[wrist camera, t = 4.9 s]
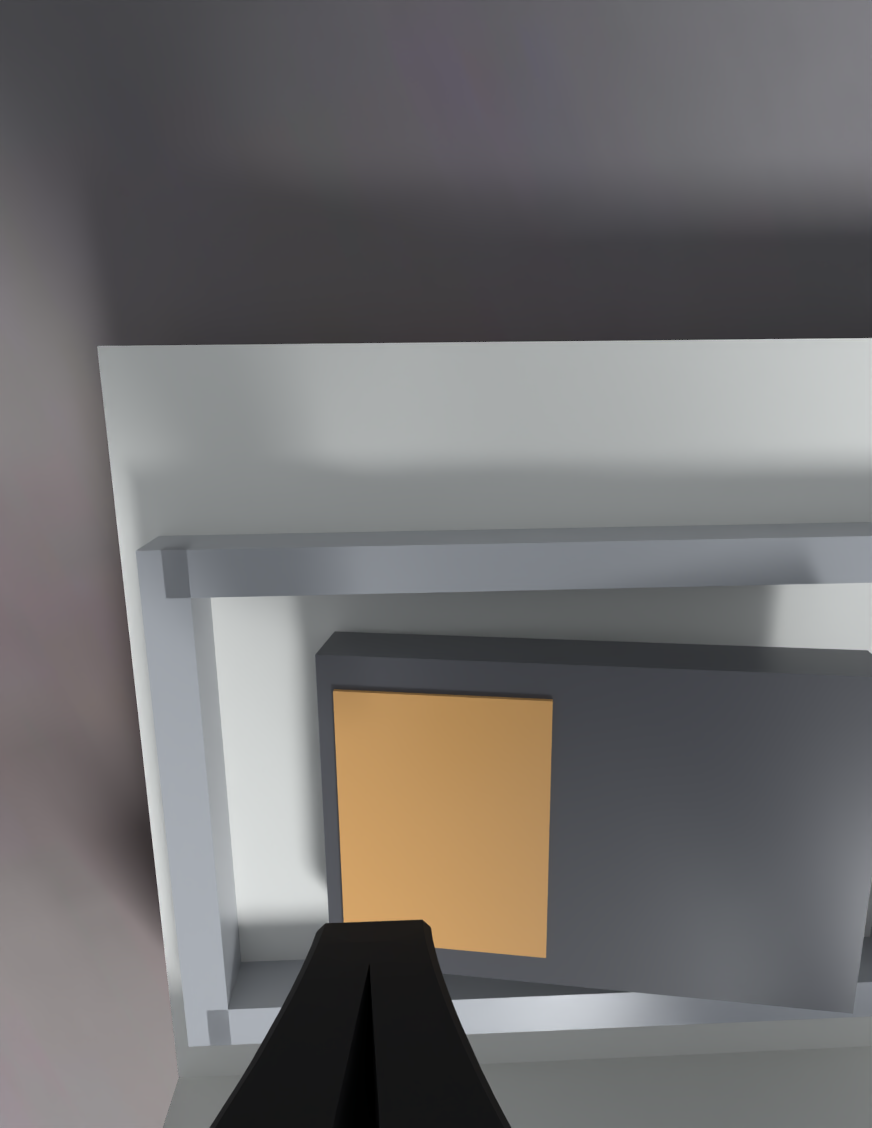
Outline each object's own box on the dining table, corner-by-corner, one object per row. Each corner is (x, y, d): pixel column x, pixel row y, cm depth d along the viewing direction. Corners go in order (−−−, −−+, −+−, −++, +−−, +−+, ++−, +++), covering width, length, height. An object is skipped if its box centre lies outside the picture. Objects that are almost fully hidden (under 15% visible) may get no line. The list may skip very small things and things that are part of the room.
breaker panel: (839, 984, 20) (1020, 1236, 14) (217, 1010, 19) (136, 1286, 13) (924, 344, 16) (1219, 324, 10) (154, 352, 15) (4, 335, 10)
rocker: (827, 961, 14) (854, 1017, 13) (347, 918, 15) (329, 966, 14) (867, 650, 13) (902, 679, 11) (334, 631, 14) (313, 656, 13)
